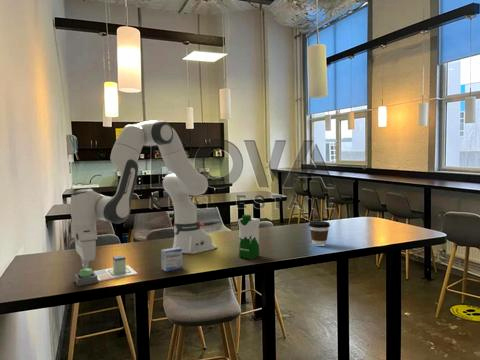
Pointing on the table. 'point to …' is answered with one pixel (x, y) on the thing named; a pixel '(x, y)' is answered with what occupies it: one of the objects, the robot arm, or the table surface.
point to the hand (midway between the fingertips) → (85, 267)
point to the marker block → (119, 264)
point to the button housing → (86, 279)
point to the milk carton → (248, 237)
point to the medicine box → (171, 259)
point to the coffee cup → (319, 232)
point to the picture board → (114, 274)
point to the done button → (85, 272)
